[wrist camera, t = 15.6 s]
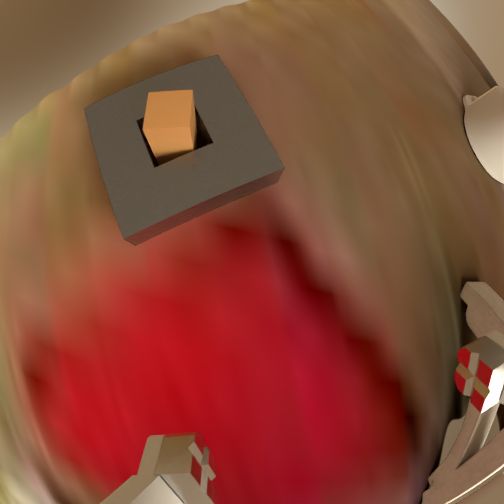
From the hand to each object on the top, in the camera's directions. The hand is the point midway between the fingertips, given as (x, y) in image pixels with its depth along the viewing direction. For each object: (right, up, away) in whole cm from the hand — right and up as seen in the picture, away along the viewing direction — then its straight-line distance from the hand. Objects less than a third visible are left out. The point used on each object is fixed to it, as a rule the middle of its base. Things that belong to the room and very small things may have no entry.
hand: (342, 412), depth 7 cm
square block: (-11, +16, +23) cm, 30 cm away
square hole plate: (-11, +16, +23) cm, 30 cm away
